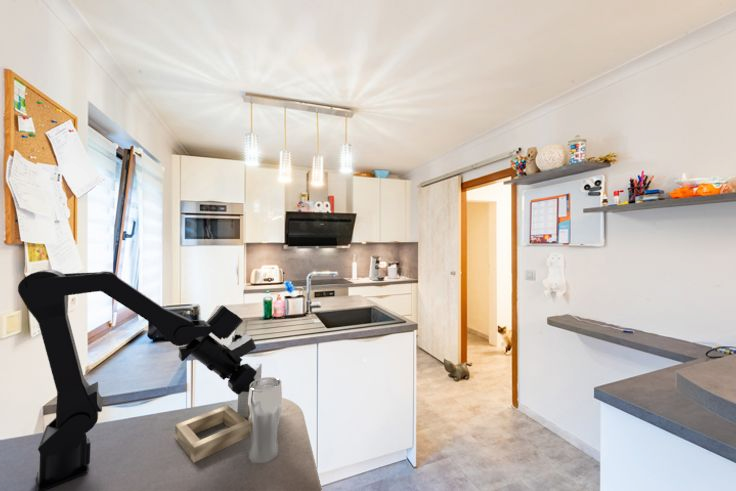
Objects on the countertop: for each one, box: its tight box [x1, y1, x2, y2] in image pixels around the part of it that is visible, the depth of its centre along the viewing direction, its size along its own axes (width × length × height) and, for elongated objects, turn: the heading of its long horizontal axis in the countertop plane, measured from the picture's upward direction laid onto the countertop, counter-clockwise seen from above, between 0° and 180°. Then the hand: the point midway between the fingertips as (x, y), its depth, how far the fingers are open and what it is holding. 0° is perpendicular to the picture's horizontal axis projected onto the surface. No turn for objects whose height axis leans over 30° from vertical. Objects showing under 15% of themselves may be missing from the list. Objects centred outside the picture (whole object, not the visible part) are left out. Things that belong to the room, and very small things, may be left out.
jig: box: [174, 405, 251, 463], centre depth 69 cm, size 12×12×3 cm
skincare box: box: [236, 362, 263, 419], centre depth 80 cm, size 6×4×12 cm
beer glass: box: [247, 376, 283, 464], centre depth 64 cm, size 7×7×15 cm
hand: (255, 385), depth 81 cm, fingers closed on skincare box, 7 cm apart
